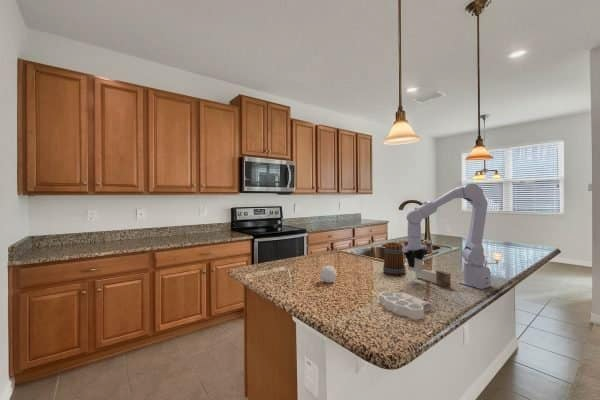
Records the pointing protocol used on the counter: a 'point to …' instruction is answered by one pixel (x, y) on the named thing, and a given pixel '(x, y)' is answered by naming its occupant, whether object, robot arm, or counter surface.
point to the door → (426, 275)
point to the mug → (393, 259)
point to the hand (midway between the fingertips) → (414, 266)
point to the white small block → (417, 265)
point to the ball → (328, 274)
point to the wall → (443, 279)
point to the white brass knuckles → (404, 304)
